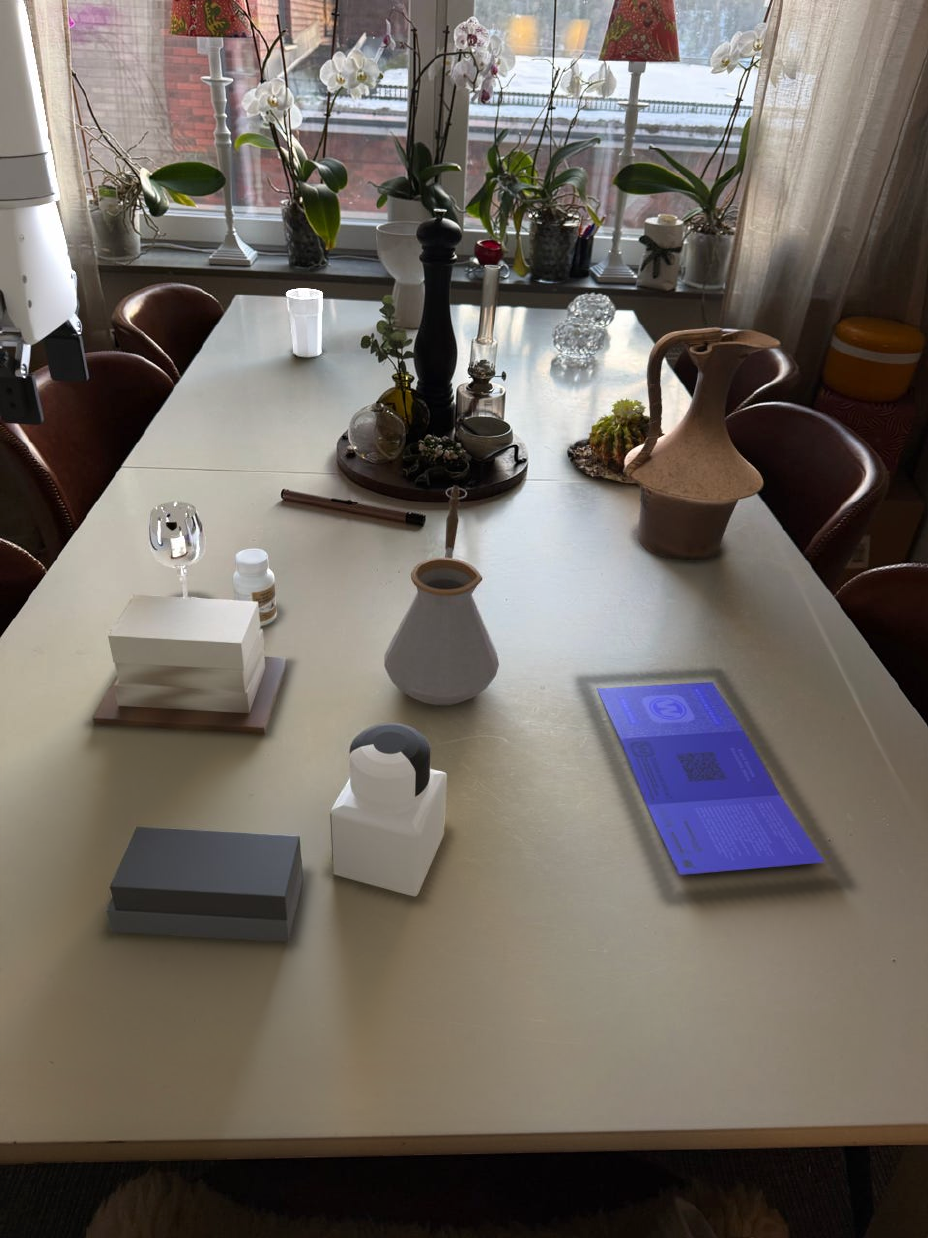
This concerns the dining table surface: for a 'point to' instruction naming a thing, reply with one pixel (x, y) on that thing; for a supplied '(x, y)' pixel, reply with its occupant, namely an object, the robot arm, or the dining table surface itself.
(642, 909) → the dining table surface
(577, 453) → the cactus
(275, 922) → the grey books
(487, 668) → the coffee pot
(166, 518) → the wineglass
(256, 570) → the pill bottle
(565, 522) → the dining table surface
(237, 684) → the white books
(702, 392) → the pitcher
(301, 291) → the cup
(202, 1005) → the dining table surface
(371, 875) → the blocky figurine
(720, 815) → the booklet
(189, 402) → the dining table surface
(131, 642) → the white book
